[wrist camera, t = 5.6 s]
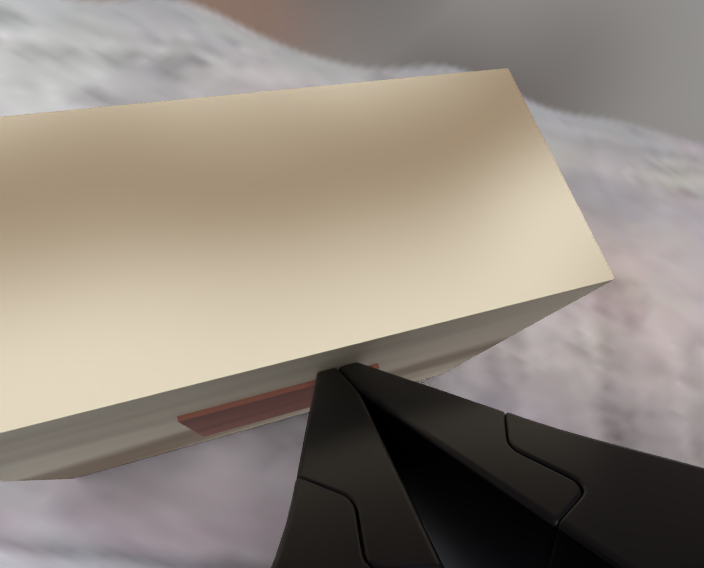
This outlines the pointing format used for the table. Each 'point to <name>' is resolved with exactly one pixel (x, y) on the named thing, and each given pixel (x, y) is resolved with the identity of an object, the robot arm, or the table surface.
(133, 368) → the birch block
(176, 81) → the table surface
